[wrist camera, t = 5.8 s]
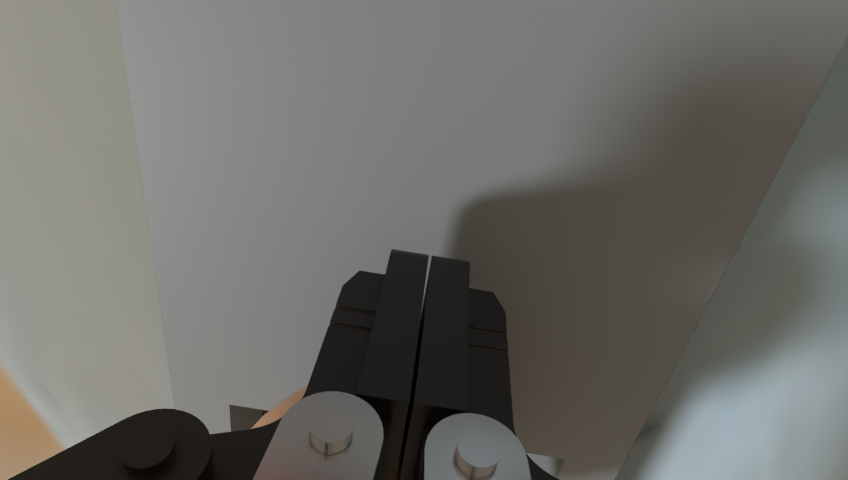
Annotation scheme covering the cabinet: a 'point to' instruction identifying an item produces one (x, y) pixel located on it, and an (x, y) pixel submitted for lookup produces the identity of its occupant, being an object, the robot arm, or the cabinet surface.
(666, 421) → the cabinet surface
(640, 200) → the board
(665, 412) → the cabinet surface
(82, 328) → the cabinet surface
